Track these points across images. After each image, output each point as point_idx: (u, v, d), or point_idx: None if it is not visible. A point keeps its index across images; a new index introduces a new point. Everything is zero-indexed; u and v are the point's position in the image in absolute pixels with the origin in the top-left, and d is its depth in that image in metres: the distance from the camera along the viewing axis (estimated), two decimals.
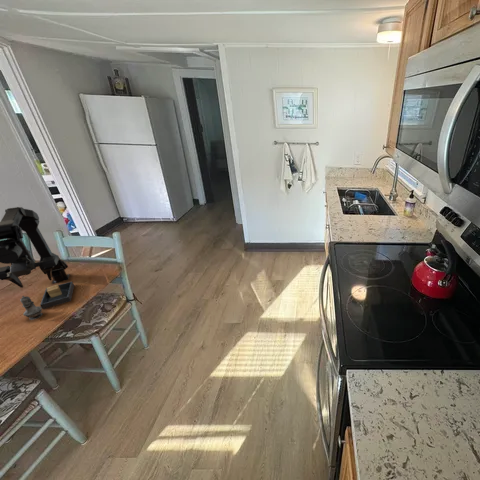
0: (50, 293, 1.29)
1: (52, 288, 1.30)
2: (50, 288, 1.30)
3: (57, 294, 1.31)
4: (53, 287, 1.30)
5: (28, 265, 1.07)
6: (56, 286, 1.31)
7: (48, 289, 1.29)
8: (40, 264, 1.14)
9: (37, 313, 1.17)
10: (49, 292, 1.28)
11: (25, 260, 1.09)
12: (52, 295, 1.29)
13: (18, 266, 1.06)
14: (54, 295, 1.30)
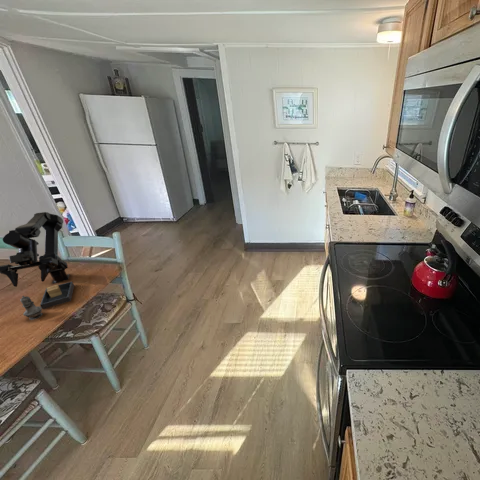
0: (50, 293, 1.29)
1: (52, 288, 1.30)
2: (50, 288, 1.30)
3: (57, 294, 1.31)
4: (53, 287, 1.30)
5: (26, 252, 1.16)
6: (56, 286, 1.31)
7: (48, 289, 1.29)
8: (40, 263, 1.22)
9: (37, 313, 1.17)
10: (49, 292, 1.28)
11: None
12: (52, 295, 1.29)
13: None
14: (54, 295, 1.30)
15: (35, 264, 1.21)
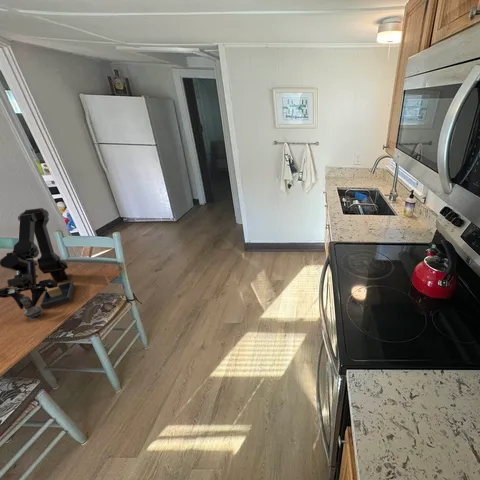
0: (50, 293, 1.29)
1: (52, 288, 1.30)
2: (50, 288, 1.30)
3: (57, 294, 1.31)
4: None
5: (24, 275, 1.12)
6: None
7: (48, 289, 1.29)
8: (39, 285, 1.18)
9: (37, 313, 1.17)
10: (49, 292, 1.28)
11: None
12: (52, 295, 1.29)
13: None
14: (54, 295, 1.30)
15: (34, 286, 1.17)
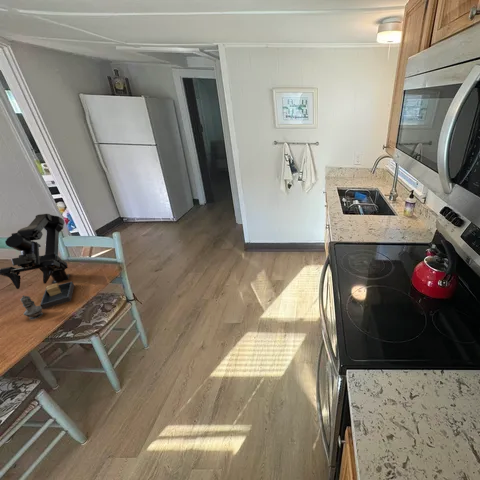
0: (49, 292, 1.30)
1: (51, 286, 1.31)
2: (49, 286, 1.31)
3: (56, 293, 1.32)
4: (53, 286, 1.31)
5: (28, 254, 1.17)
6: (55, 285, 1.32)
7: (47, 288, 1.30)
8: (42, 265, 1.23)
9: (37, 313, 1.17)
10: (48, 291, 1.29)
11: None
12: (51, 294, 1.30)
13: None
14: (53, 294, 1.31)
15: (37, 266, 1.22)
